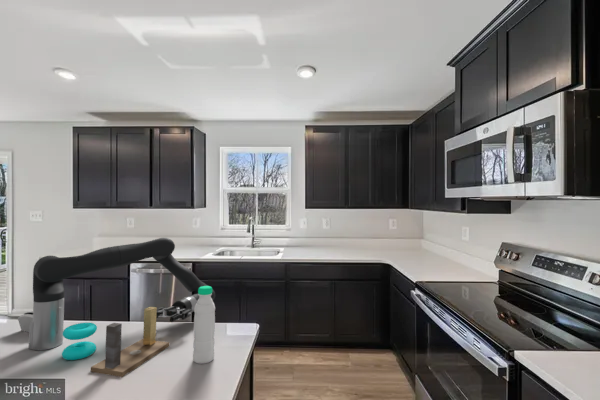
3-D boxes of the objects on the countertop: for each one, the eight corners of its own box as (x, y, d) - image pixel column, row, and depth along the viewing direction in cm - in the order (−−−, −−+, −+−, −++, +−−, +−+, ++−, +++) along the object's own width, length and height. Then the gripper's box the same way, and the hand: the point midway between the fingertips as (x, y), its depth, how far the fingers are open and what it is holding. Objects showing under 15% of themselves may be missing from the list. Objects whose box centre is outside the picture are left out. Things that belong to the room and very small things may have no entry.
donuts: (82, 320, 119) (103, 323, 117) (82, 347, 119) (102, 351, 116) (55, 329, 110) (77, 333, 107) (54, 359, 110) (76, 363, 107)
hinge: (62, 331, 134) (54, 311, 131) (51, 339, 129) (43, 318, 126) (34, 326, 139) (26, 306, 136) (22, 334, 134) (14, 313, 131)
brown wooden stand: (142, 342, 124) (143, 304, 124) (169, 346, 121) (170, 307, 121) (90, 371, 101) (92, 325, 102) (122, 377, 99) (123, 329, 99)
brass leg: (148, 341, 121) (149, 306, 121) (155, 342, 120) (156, 307, 121) (143, 344, 118) (144, 309, 118) (150, 345, 117) (151, 309, 118)
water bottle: (218, 356, 113) (219, 285, 114) (206, 366, 106) (207, 290, 107) (201, 353, 115) (203, 283, 116) (188, 362, 109) (190, 288, 109)
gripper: (171, 296, 143) (145, 307, 127) (199, 299, 140) (177, 310, 124) (170, 313, 143) (145, 326, 127) (199, 316, 139) (176, 330, 124)
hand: (161, 318), depth 126 cm, fingers open, 8 cm apart
